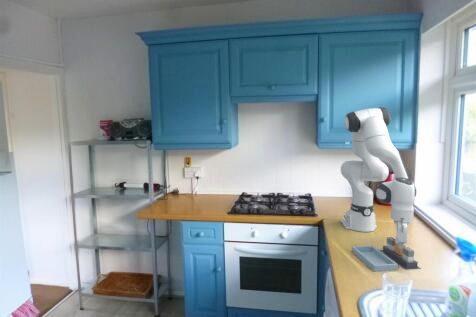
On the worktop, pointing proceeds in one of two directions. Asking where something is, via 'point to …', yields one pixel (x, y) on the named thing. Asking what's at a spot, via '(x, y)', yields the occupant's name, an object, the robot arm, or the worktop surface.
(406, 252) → the outer fuse
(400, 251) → the marked fuse
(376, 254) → the tray
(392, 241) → the block
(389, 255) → the fuse block
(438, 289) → the worktop surface
